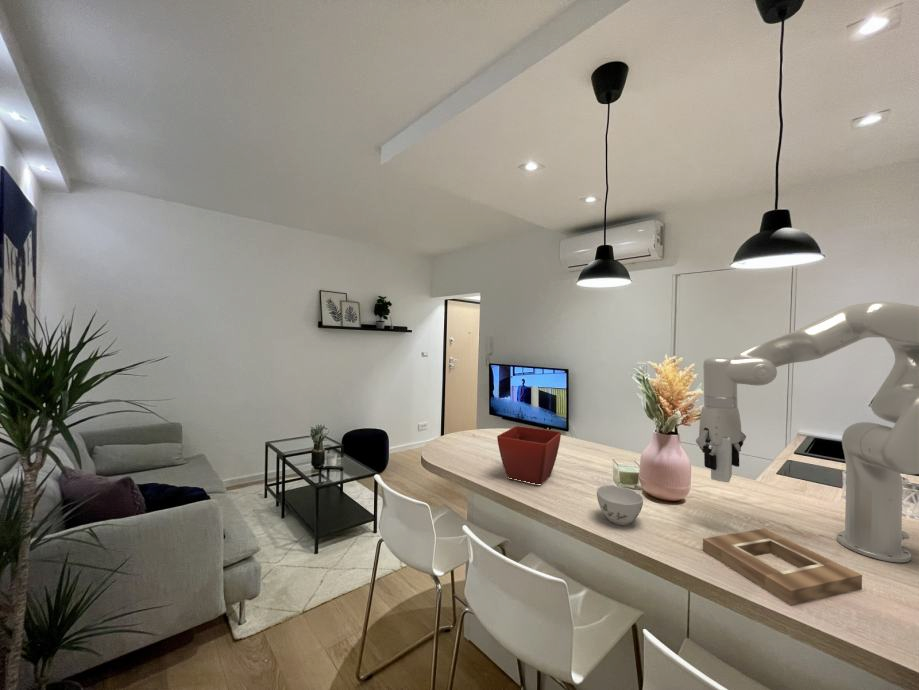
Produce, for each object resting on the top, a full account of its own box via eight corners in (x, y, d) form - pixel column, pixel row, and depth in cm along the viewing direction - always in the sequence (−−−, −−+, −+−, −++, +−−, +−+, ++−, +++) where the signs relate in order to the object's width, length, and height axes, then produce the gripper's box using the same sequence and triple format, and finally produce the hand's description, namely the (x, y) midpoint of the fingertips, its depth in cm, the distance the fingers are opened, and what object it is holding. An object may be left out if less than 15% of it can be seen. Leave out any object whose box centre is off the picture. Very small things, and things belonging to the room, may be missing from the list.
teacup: (628, 536, 100) (629, 507, 100) (587, 518, 110) (587, 491, 110) (655, 519, 110) (655, 492, 109) (614, 504, 119) (615, 480, 119)
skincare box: (713, 473, 107) (712, 431, 107) (733, 477, 104) (732, 433, 104) (710, 480, 102) (709, 435, 102) (730, 483, 100) (729, 438, 99)
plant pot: (545, 491, 130) (545, 443, 129) (495, 480, 140) (496, 436, 139) (561, 474, 146) (561, 431, 146) (516, 466, 156) (516, 425, 156)
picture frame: (764, 539, 99) (764, 528, 99) (861, 588, 79) (862, 574, 79) (702, 550, 94) (702, 538, 94) (791, 605, 74) (791, 590, 74)
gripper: (732, 398, 109) (733, 459, 109) (683, 402, 105) (684, 466, 105) (758, 402, 102) (760, 467, 102) (707, 407, 97) (708, 475, 97)
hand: (721, 466), depth 103 cm, fingers closed on skincare box, 7 cm apart
